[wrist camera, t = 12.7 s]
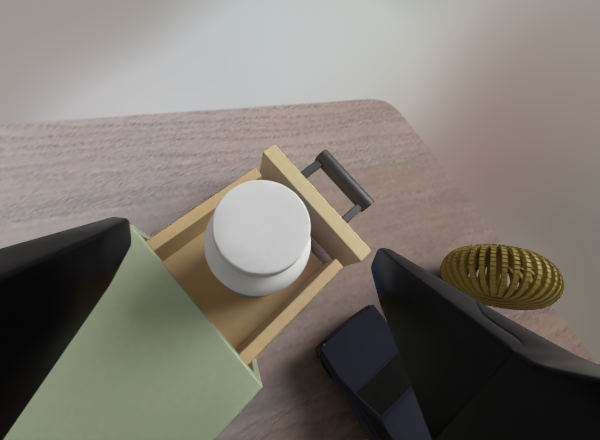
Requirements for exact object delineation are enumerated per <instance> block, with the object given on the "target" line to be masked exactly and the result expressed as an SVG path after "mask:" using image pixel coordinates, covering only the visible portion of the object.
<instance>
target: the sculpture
mask: <svg viewBox="0 0 600 440" xmlns="http://www.w3.org/2000/svg"><path fill="white" fill-rule="evenodd" d="M466 266H467V267H466ZM486 267H487V272H486V273H487V274H485V269H486ZM478 268H479V270H480V271H479V273H478V277H477V275H476V272H477V271H478ZM440 269H441V270H440V272H441V278H442V280H443V281H445V282H446V283H448V284H450V285H452V286H453V287H455V288H457V289H458V290H460V291H462V292H463V293H465V294H467V295H468V296H470V297H472V298H474V299H475V301H479V302H480V303H482V304H484V305H487V306H492V305H493V307H499V308H505V309H512V310H536V309H542V308H545V307H547V306H550V305H552V304H553V303H554V302H556V301H557V300H558V299H559V298H560V296H561V295H562V293H563V289H564V283H563V277H562V275H561V273H560V271H559V270H558V269H557V268H556V266H555V265H553V264H552V263H551V262H550V261H549V260H548V259H546V258H544V257H543V256H540V255H539V254H537V253H534V252H532V251H529V250H526V249H521V248H517V247H512V246H505V245H498V247H497V244H492V245H490V244H484V245H483V244H478V245H470V246H465V247H461V248H458V249H456V250H454V251H452V252H450V253H449V254H448V255H447V256H446V257H445V258H444V260H443V262H442V265H441V268H440ZM464 269H465V270H464ZM506 272H507V273H506ZM521 272H522V273H521ZM469 273H470V277H469V276H468V274H469ZM508 273H509V277H510V282H511V283H510V284H509V286H507V276H508ZM522 274H523V275H522ZM461 275H462V276H461ZM500 275H501V279H500ZM485 276H486V277H485ZM462 278H463V279H462ZM477 278H478V279H477ZM532 278H533V279H532ZM517 279H518V280H517ZM500 281H501V282H500ZM518 281H519V287H518V289H517V284H518ZM534 283H535V284H534ZM473 284H474V285H473ZM481 284H482V285H481ZM529 284H530V285H529ZM481 286H482V287H481ZM526 286H527V287H528V288H527V287H526ZM535 288H536V289H535Z"/></svg>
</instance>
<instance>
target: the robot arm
mask: <svg viewBox="0 0 600 440" xmlns="http://www.w3.org/2000/svg"><path fill="white" fill-rule="evenodd" d="M130 246H131V231H130V223H129V221H128V220H127V219H126V218H118V217H111V218H108V219H104V220H101V221H97V222H94V223H90V224H87V225H83V226H80V227H76V228H72V229H69V230H65V231H62V232H58V233H55V234H51V235H48V236H44V237H41V238H37V239H33V240H30V241H26V242H23V243H19V244H16V245H12V246H9V247H5V248H2V249H0V440H4V438H5V437H6V435H7V434H8V432H9V431H10V429H11V428H12V426H13V425H14V424H15V422H16V421H17V419H18V418H19V416H20V415H21V413H22V412H23V411H24V409H25V408H26V406H27V405H28V403H29V402H30V400H31V399H32V398H33V396H34V395H35V393H36V392H37V390H38V389H39V387H40V386H41V384H42V383H43V382H44V380H45V379H46V377H47V376H48V374H49V373H50V371H51V370H52V369H53V367H54V366H55V364H56V363H57V361H58V360H59V358H60V357H61V356H62V354H63V353H64V351H65V350H66V348H67V347H68V345H69V344H70V342H71V341H72V340H73V338H74V337H75V335H76V334H77V332H78V331H79V329H80V328H81V327H82V325H83V324H84V322H85V321H86V319H87V318H88V316H89V315H90V314H91V312H92V311H93V309H94V308H95V306H96V305H97V303H98V302H99V300H100V299H101V298H102V296H103V295H104V293H105V292H106V290H107V289H108V287H109V286H110V284H111V282H112V281H113V279H114V277H115V275H116V273H117V271H118V269H119V267H120V265H121V264H122V262H123V260H124V258H125V256H126V254H127V252H128V250H129V248H130ZM371 270H372V275H373V278H374V282H375V286H376V290H377V294H378V297H379V301H380V304H381V307H382V310H383V313H384V315H385V318H386V320H387V323H388V326H389V328H390V331H391V334H392V336H393V339H394V342H395V344H396V347H397V349H398V352H399V355H400V357H401V360H402V363H403V365H404V368H405V371H406V373H407V376H408V378H409V381H410V384H411V386H412V389H413V392H414V394H415V397H416V399H417V402H418V405H419V407H420V410H421V413H422V415H423V418H424V421H425V423H426V426H427V428H428V431H429V434H430V436H431V439H432V440H600V365H599V364H596V363H593V362H590V361H588V360H586V359H583V358H581V357H579V356H577V355H575V354H573V353H571V352H569V351H567V350H565V349H563V348H561V347H560V346H558V345H556V344H554V343H552V342H550V341H548V340H547V339H545V338H543V337H541V336H539V335H537V334H536V333H534V332H532V331H530V330H528V329H526V328H524V327H523V326H521V325H519V324H517V323H515V322H514V321H512V320H510V319H508V318H506V317H505V316H503V315H501V314H499V313H498V312H496V311H494V310H492V309H491V308H489V307H487V306H486V305H484V304H482V303H480V302H479V301H475V299H474V298H472V297H470V296H468V295H467V294H465V293H463V292H462V291H460V290H458V289H457V288H455V287H453V286H452V285H450V284H448V283H446V282H445V281H443V280H441V279H440V278H438V277H436V276H435V275H433V274H431V273H429V272H428V271H426V270H424V269H423V268H421V267H419V266H418V265H416V264H414V263H412V262H411V261H409V260H407V259H406V258H404V257H402V256H401V255H399V254H397V253H396V252H394V251H392V250H390V249H385V248H380V249H379V250H378V251H377V253H376V256H375V258H374V260H373V263H372V266H371Z"/></svg>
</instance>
